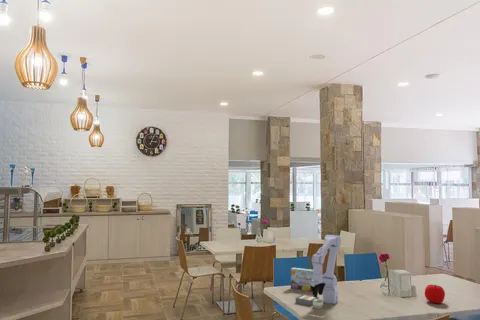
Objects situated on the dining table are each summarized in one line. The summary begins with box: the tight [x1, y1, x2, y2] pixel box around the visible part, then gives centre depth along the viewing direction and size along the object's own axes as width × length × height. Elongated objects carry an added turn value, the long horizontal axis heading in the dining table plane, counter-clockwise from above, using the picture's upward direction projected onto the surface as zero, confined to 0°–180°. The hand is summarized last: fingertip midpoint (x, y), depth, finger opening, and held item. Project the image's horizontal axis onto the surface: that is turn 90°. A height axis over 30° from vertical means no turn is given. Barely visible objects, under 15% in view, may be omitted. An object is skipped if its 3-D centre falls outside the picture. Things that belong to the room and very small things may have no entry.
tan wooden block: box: [299, 294, 316, 300], centre depth 262 cm, size 8×8×3 cm
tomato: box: [424, 284, 446, 304], centre depth 267 cm, size 12×13×12 cm
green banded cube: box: [312, 299, 324, 310], centre depth 252 cm, size 5×5×5 cm
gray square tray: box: [295, 293, 319, 307], centre depth 262 cm, size 11×11×4 cm
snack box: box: [290, 267, 317, 292], centre depth 297 cm, size 21×6×15 cm, turn 62°
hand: (317, 295), depth 252 cm, fingers open, 7 cm apart
